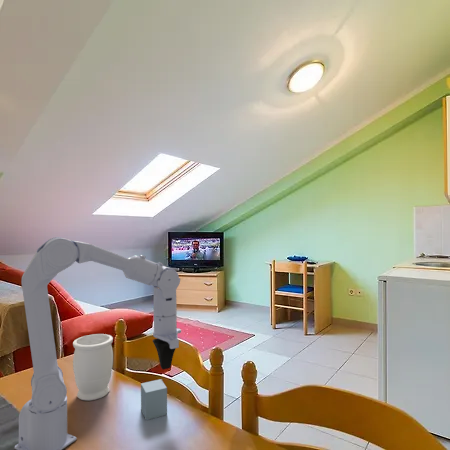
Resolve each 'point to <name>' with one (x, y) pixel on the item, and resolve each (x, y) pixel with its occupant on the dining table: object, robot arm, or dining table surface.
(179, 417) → the dining table surface
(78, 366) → the jar
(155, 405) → the tall grey box
